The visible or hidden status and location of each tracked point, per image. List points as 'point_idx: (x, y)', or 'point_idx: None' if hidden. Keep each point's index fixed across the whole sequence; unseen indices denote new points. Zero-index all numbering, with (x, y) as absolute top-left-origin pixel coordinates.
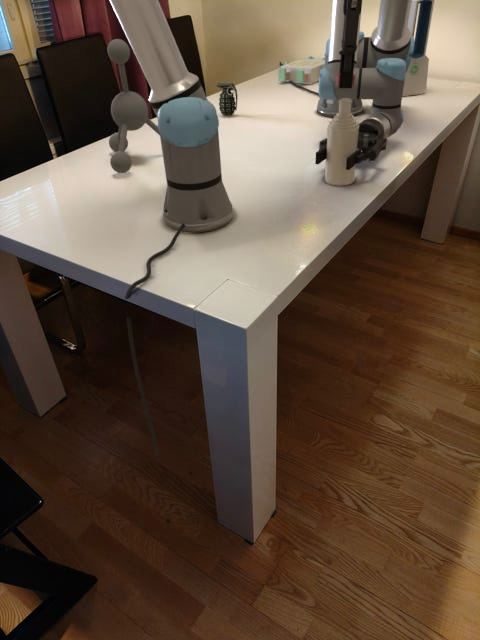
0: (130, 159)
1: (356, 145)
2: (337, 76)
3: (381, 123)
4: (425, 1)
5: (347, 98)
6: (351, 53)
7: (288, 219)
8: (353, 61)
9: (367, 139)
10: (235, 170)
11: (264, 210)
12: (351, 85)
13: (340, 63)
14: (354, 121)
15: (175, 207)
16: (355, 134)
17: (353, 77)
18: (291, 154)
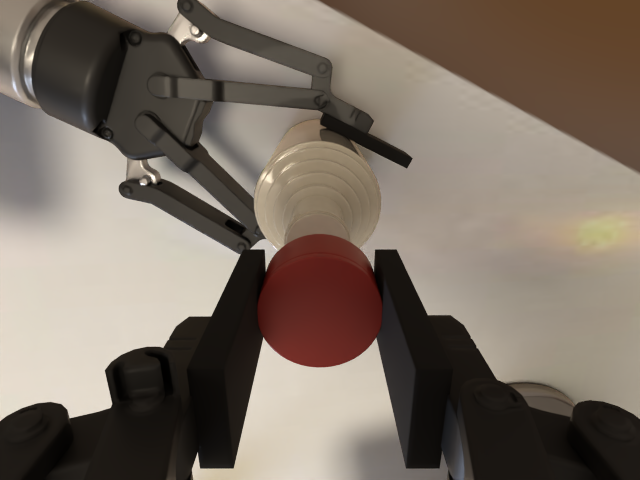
0: None
1: (341, 137)
2: (345, 359)
3: (39, 8)
4: None
5: (296, 234)
6: (540, 418)
7: (547, 278)
8: (435, 338)
9: (217, 84)
10: (263, 408)
11: (494, 328)
12: (400, 258)
13: (250, 389)
14: (345, 170)
15: None
16: (357, 152)
17: (357, 264)
18: (130, 295)
